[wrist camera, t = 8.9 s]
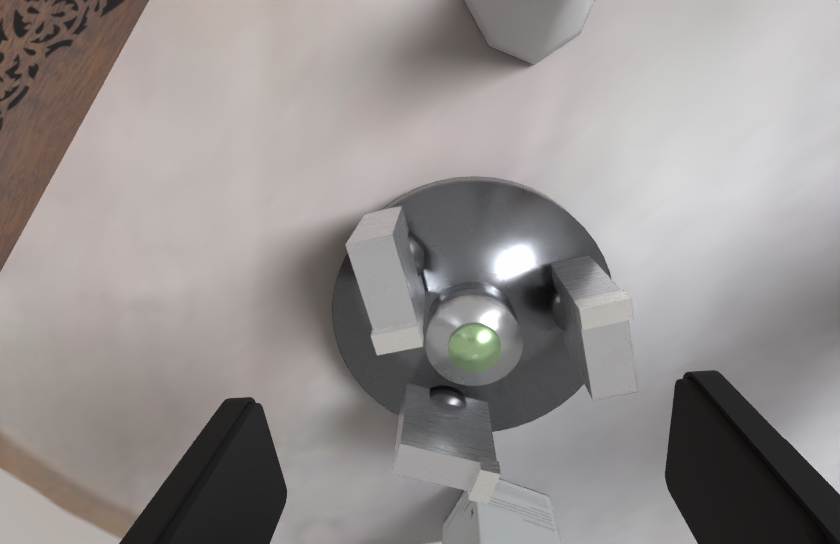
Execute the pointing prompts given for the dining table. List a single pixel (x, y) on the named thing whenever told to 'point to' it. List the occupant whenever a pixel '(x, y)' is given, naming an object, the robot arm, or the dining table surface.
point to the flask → (529, 24)
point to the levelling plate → (479, 254)
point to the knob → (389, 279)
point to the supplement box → (502, 518)
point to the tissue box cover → (49, 90)
